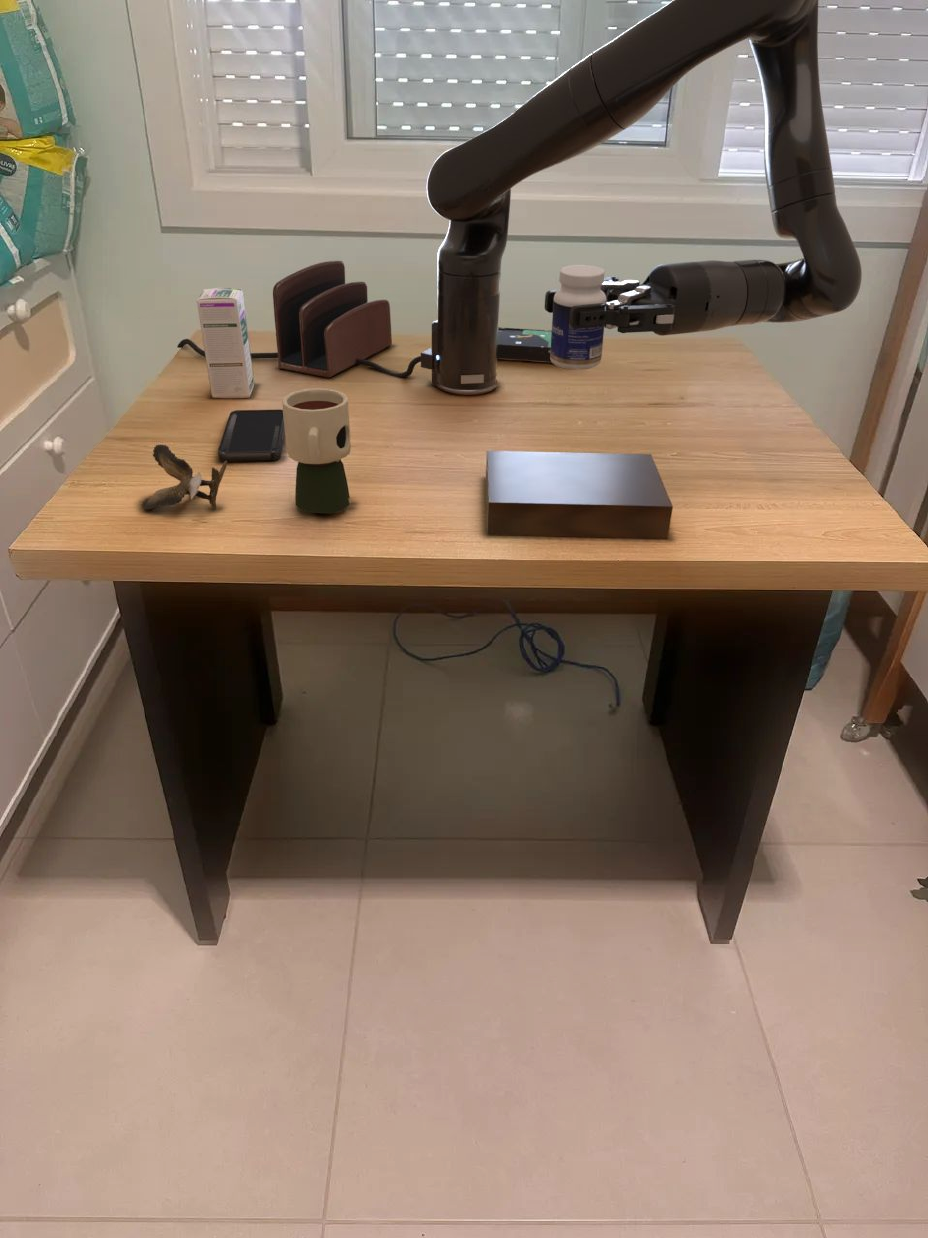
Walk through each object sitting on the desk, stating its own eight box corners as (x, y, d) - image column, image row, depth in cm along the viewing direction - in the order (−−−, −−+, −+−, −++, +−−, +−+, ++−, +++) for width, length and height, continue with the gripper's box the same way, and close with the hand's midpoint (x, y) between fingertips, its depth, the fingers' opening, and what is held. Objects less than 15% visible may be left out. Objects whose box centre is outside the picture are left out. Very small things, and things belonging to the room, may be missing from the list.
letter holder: (277, 369, 142) (268, 277, 135) (344, 337, 157) (339, 253, 149) (330, 379, 139) (323, 286, 131) (393, 345, 154) (390, 260, 146)
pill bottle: (545, 355, 101) (551, 263, 95) (594, 354, 101) (603, 262, 96) (554, 371, 96) (560, 276, 91) (606, 370, 97) (615, 275, 91)
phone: (216, 453, 112) (231, 409, 124) (218, 462, 112) (232, 417, 124) (280, 452, 112) (287, 409, 125) (281, 460, 113) (288, 416, 125)
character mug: (352, 529, 98) (345, 417, 91) (287, 530, 98) (275, 417, 91) (356, 486, 107) (350, 381, 100) (296, 486, 107) (286, 381, 100)
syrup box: (250, 398, 131) (238, 297, 123) (210, 398, 131) (195, 297, 123) (255, 385, 136) (244, 287, 128) (216, 385, 136) (202, 287, 128)
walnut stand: (487, 534, 98) (488, 502, 96) (485, 480, 110) (486, 450, 107) (667, 538, 98) (673, 506, 96) (646, 484, 110) (651, 453, 107)
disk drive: (478, 360, 149) (567, 364, 147) (479, 343, 147) (568, 347, 146) (485, 341, 157) (569, 345, 156) (485, 325, 156) (570, 329, 154)
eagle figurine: (232, 478, 106) (158, 461, 105) (224, 446, 99) (145, 427, 99) (212, 534, 103) (136, 516, 103) (203, 504, 96) (121, 485, 96)
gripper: (666, 248, 103) (533, 258, 98) (737, 277, 92) (591, 289, 87) (657, 314, 107) (529, 326, 102) (724, 349, 96) (585, 365, 91)
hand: (559, 309), depth 95 cm, fingers closed on pill bottle, 5 cm apart
